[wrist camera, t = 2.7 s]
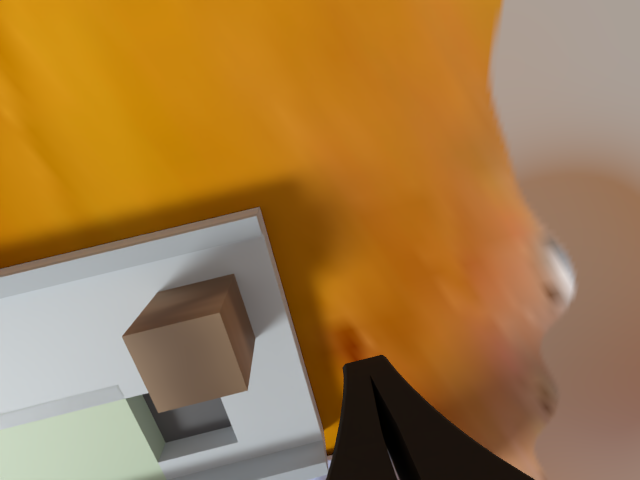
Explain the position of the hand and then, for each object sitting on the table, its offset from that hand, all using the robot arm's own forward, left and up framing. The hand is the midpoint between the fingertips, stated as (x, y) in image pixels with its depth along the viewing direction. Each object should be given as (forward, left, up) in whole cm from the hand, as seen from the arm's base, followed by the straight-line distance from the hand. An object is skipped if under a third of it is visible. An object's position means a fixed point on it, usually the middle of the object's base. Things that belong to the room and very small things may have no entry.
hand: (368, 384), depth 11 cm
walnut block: (+7, 0, -8) cm, 10 cm away
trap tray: (+15, +3, -9) cm, 18 cm away
